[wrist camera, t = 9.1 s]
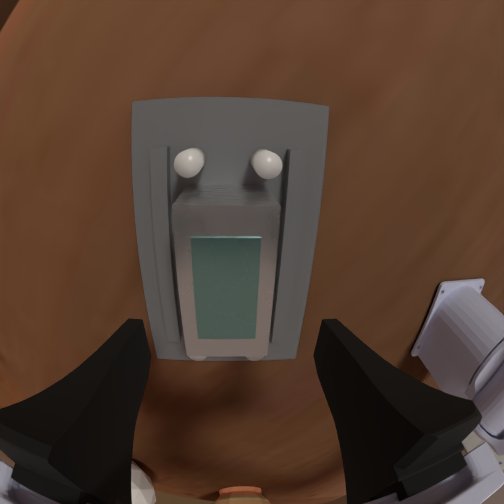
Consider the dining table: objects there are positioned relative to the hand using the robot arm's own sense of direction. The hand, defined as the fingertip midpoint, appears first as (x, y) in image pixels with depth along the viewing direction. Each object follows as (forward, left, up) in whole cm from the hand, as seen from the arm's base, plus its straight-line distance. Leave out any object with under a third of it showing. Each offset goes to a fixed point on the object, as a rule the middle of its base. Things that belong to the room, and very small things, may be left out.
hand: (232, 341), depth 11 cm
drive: (0, 0, -9) cm, 9 cm away
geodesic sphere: (-39, +19, -10) cm, 45 cm away
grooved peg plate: (0, 0, -9) cm, 9 cm away
